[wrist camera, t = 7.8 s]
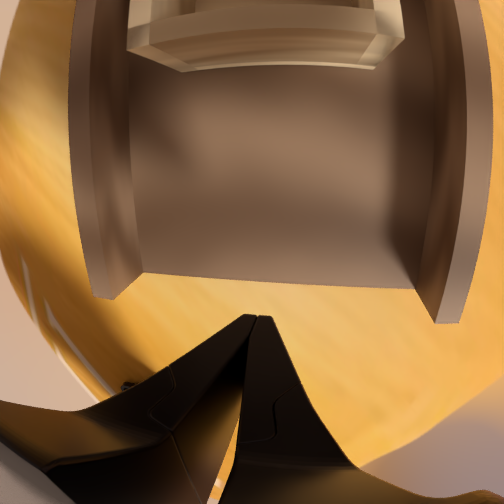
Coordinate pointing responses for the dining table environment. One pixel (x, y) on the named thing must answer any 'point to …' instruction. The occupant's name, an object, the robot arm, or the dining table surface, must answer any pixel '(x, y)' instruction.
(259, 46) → the box
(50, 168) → the dining table surface
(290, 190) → the bay
